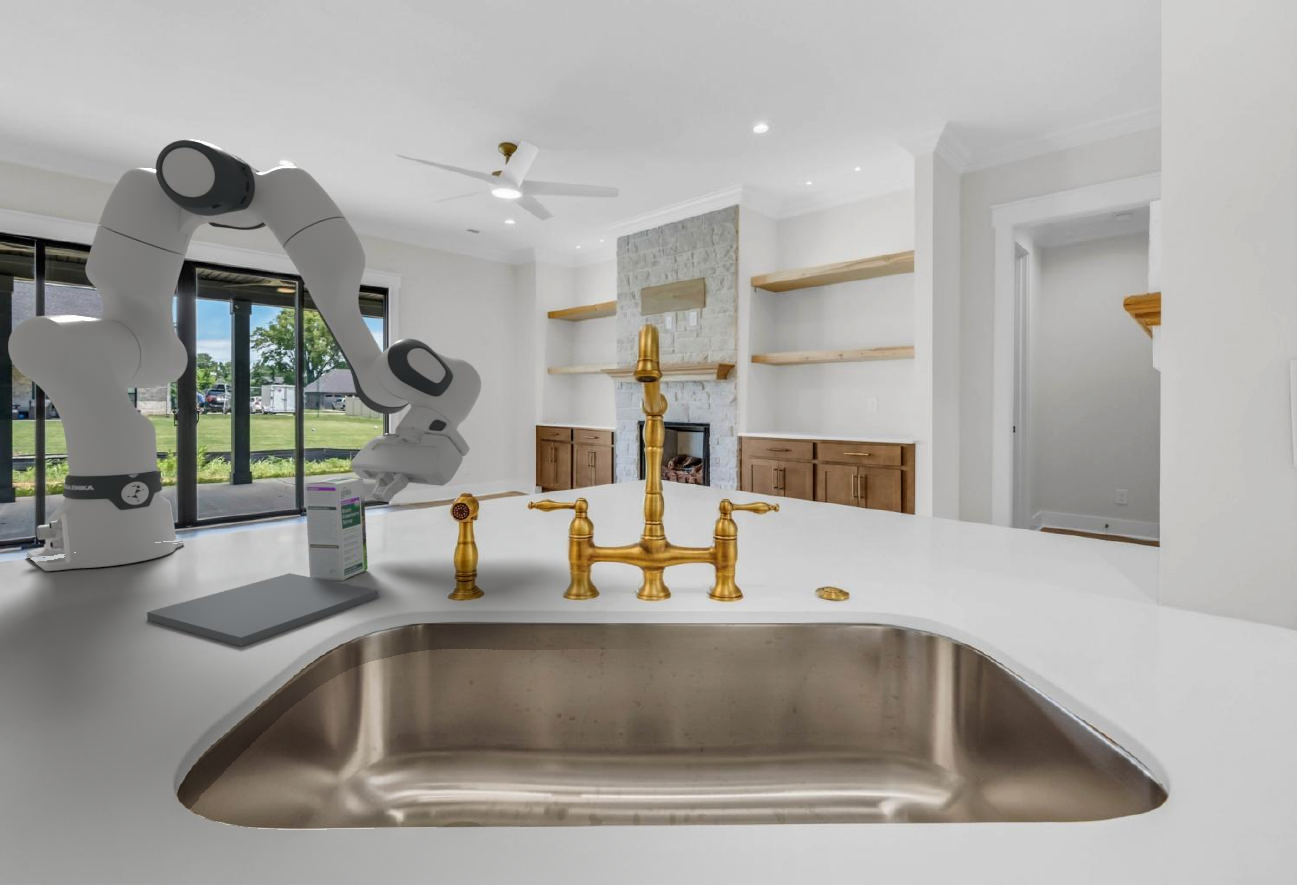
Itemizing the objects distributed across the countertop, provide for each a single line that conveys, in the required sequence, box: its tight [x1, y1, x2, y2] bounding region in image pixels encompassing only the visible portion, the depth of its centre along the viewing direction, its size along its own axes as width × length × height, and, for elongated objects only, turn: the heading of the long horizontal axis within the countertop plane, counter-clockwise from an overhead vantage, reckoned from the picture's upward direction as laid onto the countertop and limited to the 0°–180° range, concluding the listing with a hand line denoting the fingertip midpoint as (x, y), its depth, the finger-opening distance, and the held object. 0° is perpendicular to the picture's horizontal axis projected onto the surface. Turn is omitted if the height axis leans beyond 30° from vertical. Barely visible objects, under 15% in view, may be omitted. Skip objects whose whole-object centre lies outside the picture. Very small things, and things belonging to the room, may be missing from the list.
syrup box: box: [304, 476, 369, 582], centre depth 92 cm, size 6×6×14 cm
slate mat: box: [146, 572, 379, 648], centre depth 78 cm, size 18×18×1 cm
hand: (379, 499), depth 99 cm, fingers closed
